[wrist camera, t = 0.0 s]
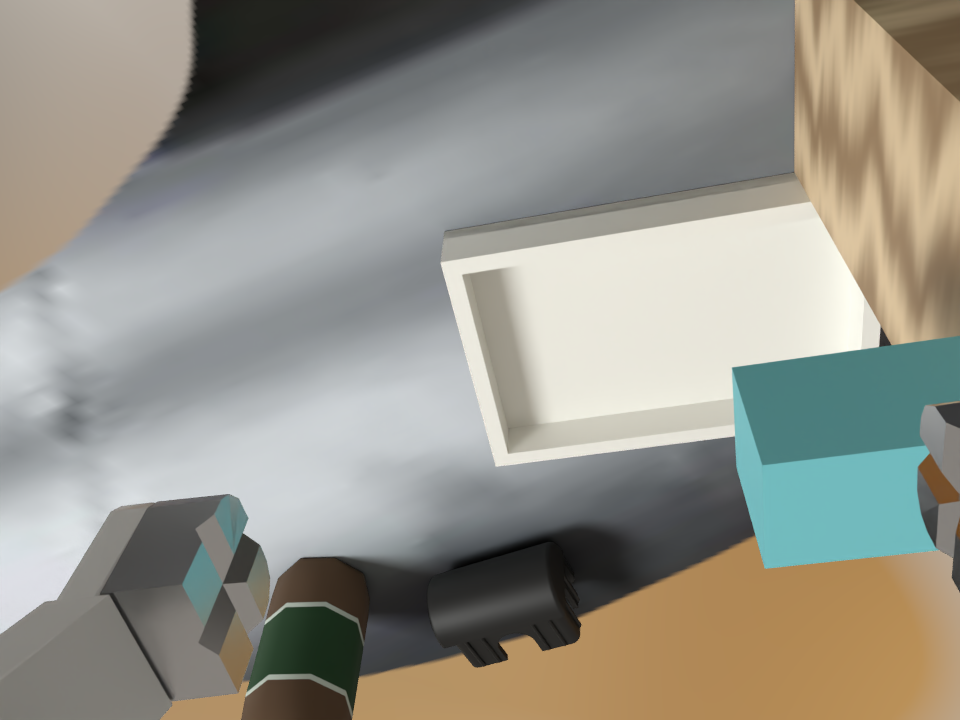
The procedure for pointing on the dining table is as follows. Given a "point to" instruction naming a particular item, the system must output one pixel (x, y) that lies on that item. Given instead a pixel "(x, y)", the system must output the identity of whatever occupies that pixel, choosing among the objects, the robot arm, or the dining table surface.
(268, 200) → the dining table surface
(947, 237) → the oak stand
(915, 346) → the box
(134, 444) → the dining table surface
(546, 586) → the end cap
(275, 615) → the beer bottle
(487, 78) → the dining table surface
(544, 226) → the white tray
